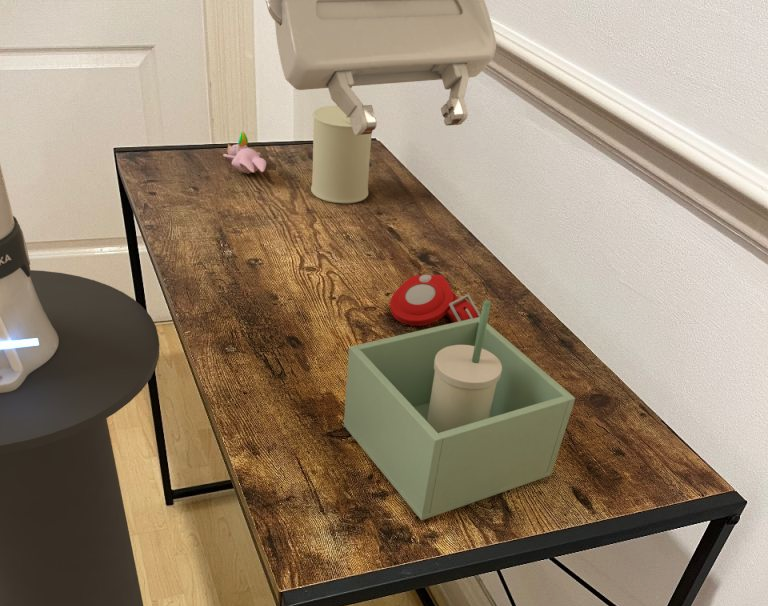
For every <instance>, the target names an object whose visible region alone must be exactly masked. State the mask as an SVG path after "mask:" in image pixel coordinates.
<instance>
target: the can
mask: <svg viewBox="0 0 768 606" xmlns="http://www.w3.org/2000/svg"><path fill="white" fill-rule="evenodd" d="M312 117H313V118H312V119H313V127H312V128H313V131H312V132H313V136H312V137H313V138H312V139H313V140H312V176H311V177H312V178H311V186H310V191H311V194H312V195H314V197H316V198H318V199H320V200H322V201H325V202H328V203H334V204H344V205H345V204H356V203H359V202H362V201H364V200H366V199H367V197H369V175H370V160H371V159H370V158H371V148H372V147H371V145H372V137H373V136H372V134H373V132H372V133H371V134H364V135H355V134H354V132H353V129H352V125H351V122H350V118H349V117H347V115H346V114H345V113H344V112H343V111H342V110H341V109H340V108H339V107H338V106H337V105H325V106H322V107H318V108H316V109H315V110H314V111H313V113H312Z"/></svg>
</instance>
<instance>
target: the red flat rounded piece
mask: <svg viewBox="0 0 768 606" xmlns="http://www.w3.org/2000/svg"><path fill="white" fill-rule="evenodd" d="M389 309H390V313H391V315H392V317H393V318H394V319H395V320H396V321H398V322H399V323H401V324H403V325H406V326H414V327H416V326H417V327H418V326H419V327H420V326H427V325H430V324H433V323H435V322H437V321H439V320H441V319H443V318H444V317H445V316H446V317H447V318H448V319H449V321H450V322H451V323H455V322H459V321H464V320H468V319H472V318H477V317H480V316H481V312H479V309H478V308H477V306H476V304H475V303H474V300H473V299H472V297H471V295H470V294H468V293H467V294H465V295H463V296H461V297H458V296H457V295H456V294H455V293H454V291H453V289H452V287H451V286H450V283H449V282H448V281H447V279H446V278H445V276H444V275H443V274H418V275H417V274H416V275H411V276H410V277H409V278H407V279H406V280H405V281H404V282H403V283H402V284H401V285H400V286H398V288H397V289H396V290H395V291H394V293H393V294H392V296H391V298H390V301H389Z"/></svg>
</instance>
